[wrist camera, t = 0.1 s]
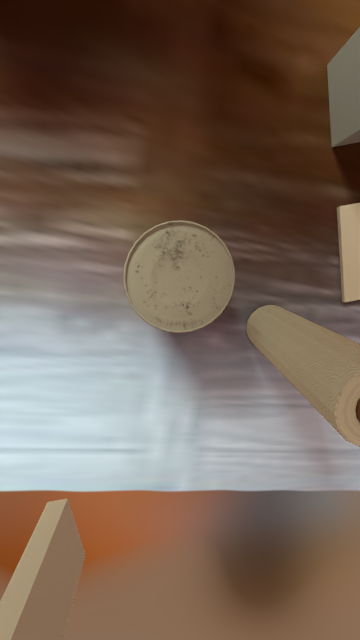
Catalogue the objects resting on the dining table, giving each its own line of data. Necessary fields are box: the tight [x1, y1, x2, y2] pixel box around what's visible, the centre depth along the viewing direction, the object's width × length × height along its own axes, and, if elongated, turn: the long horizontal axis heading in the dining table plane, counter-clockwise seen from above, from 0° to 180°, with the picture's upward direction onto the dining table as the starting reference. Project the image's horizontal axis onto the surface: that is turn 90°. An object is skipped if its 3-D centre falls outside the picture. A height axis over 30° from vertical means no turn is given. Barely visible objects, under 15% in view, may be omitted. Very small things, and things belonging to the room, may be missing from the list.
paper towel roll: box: [246, 305, 360, 447], centre depth 29 cm, size 7×6×21 cm
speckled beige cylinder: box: [123, 220, 235, 333], centre depth 31 cm, size 10×10×12 cm
